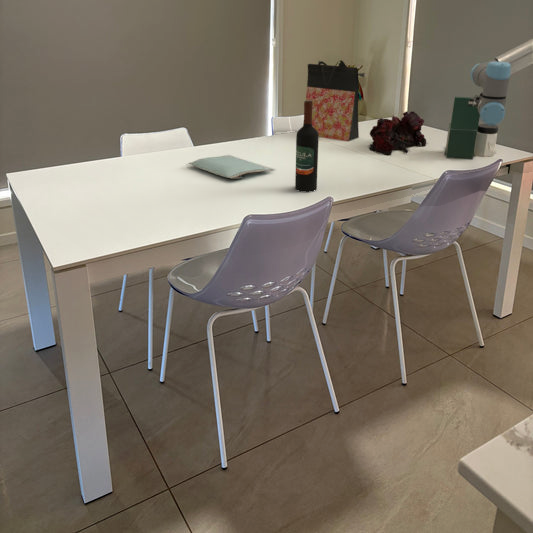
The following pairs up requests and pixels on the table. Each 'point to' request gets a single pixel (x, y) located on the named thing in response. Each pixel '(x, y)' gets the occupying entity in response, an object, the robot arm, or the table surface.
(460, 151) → the tea tin
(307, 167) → the wine bottle
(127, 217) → the table surface
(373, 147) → the flower arrangement
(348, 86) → the gift bag
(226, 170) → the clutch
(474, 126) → the tin lid
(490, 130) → the jar
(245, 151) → the table surface
